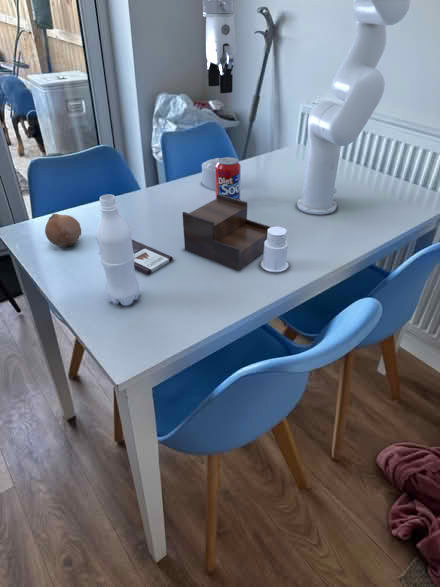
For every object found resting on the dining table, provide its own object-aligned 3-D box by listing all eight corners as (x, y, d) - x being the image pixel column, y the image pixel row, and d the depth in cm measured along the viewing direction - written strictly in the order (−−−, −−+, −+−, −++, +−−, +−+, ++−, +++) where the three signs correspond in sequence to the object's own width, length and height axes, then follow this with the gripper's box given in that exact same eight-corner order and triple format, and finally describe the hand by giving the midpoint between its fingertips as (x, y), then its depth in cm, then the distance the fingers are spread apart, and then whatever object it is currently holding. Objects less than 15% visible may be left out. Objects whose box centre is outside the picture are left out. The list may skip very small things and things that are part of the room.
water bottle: (111, 291, 101) (91, 190, 86) (141, 289, 101) (127, 189, 87) (107, 309, 95) (85, 205, 80) (139, 307, 95) (123, 203, 81)
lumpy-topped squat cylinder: (220, 176, 161) (220, 153, 156) (243, 186, 153) (243, 162, 148) (198, 183, 156) (197, 159, 151) (220, 193, 148) (220, 169, 143)
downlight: (289, 274, 106) (293, 238, 100) (261, 274, 106) (263, 238, 100) (286, 257, 112) (289, 223, 106) (259, 257, 112) (261, 223, 107)
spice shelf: (218, 229, 126) (218, 193, 119) (270, 247, 117) (272, 209, 110) (184, 250, 116) (182, 212, 110) (238, 271, 107) (238, 231, 101)
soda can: (227, 198, 144) (227, 154, 136) (244, 205, 140) (245, 160, 131) (211, 205, 140) (210, 160, 131) (228, 212, 135) (228, 166, 127)
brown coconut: (58, 251, 122) (39, 219, 119) (88, 237, 124) (70, 205, 121) (54, 256, 114) (35, 222, 110) (87, 241, 115) (68, 206, 112)
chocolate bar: (126, 237, 120) (172, 256, 111) (127, 240, 121) (172, 260, 112) (101, 249, 115) (147, 271, 105) (101, 252, 115) (147, 274, 106)
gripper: (247, 9, 93) (245, 94, 102) (222, 7, 106) (223, 82, 116) (214, 10, 91) (216, 96, 101) (193, 7, 104) (196, 84, 114)
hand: (219, 89), depth 108 cm, fingers open, 9 cm apart
